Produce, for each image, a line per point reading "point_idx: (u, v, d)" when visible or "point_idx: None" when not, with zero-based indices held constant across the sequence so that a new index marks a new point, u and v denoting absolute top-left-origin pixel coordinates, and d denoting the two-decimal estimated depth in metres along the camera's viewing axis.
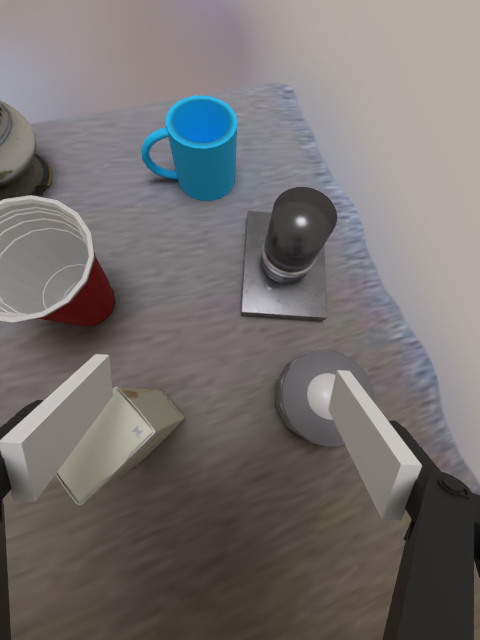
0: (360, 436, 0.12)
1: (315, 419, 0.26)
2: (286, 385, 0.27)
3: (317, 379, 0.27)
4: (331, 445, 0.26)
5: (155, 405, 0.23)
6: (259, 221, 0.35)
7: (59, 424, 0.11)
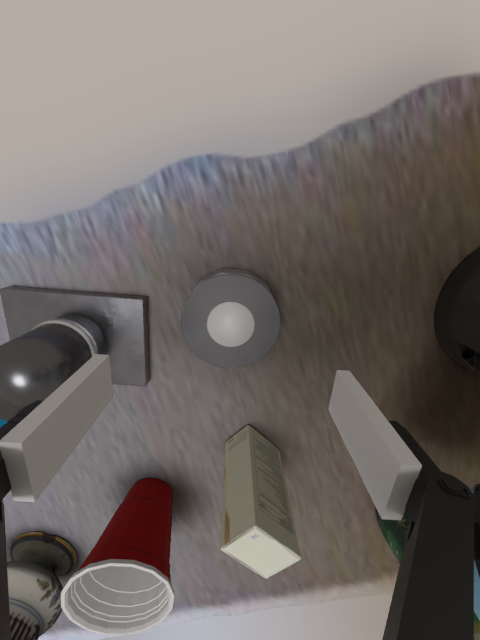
0: (360, 436, 0.12)
1: (253, 339, 0.26)
2: (220, 364, 0.27)
3: (214, 335, 0.26)
4: (278, 327, 0.25)
5: (236, 486, 0.27)
6: None
7: (59, 424, 0.11)
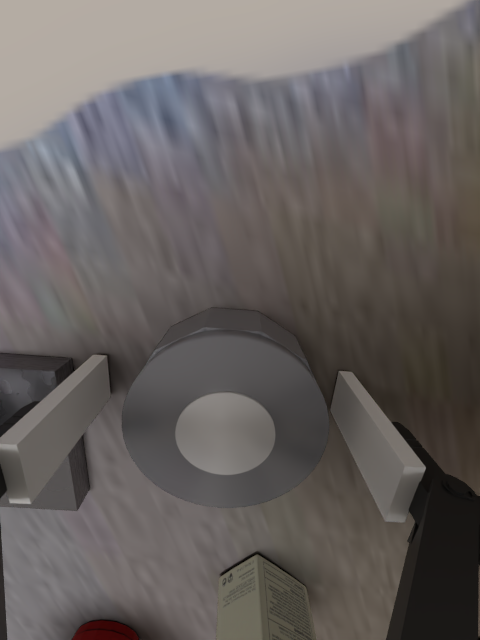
0: (363, 437, 0.12)
1: (272, 460, 0.13)
2: (205, 501, 0.14)
3: (190, 455, 0.12)
4: (325, 438, 0.12)
5: None
6: None
7: (56, 425, 0.11)
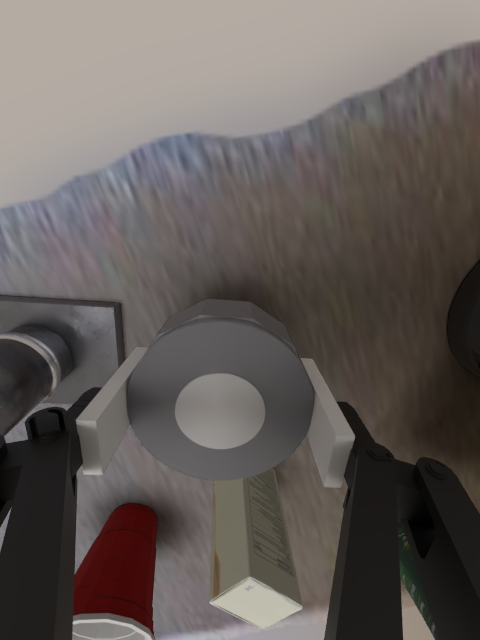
0: (313, 415, 0.13)
1: (262, 436, 0.14)
2: (202, 474, 0.15)
3: (189, 431, 0.14)
4: (310, 415, 0.14)
5: (227, 520, 0.24)
6: None
7: (118, 407, 0.12)
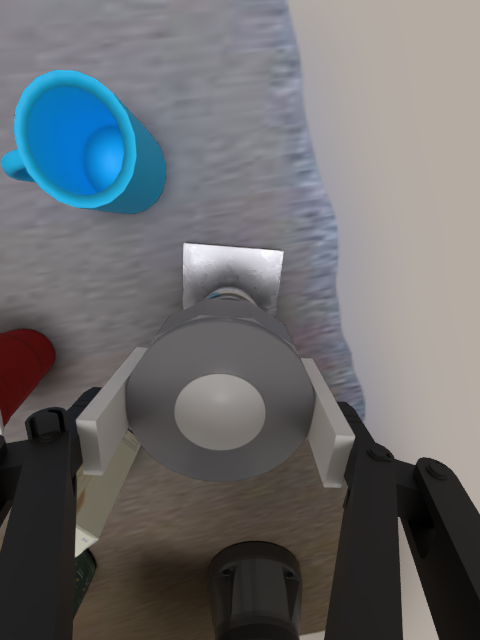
0: (313, 415, 0.13)
1: (263, 437, 0.14)
2: (201, 476, 0.15)
3: (188, 432, 0.14)
4: (311, 415, 0.13)
5: (105, 481, 0.29)
6: (199, 259, 0.28)
7: (118, 407, 0.12)
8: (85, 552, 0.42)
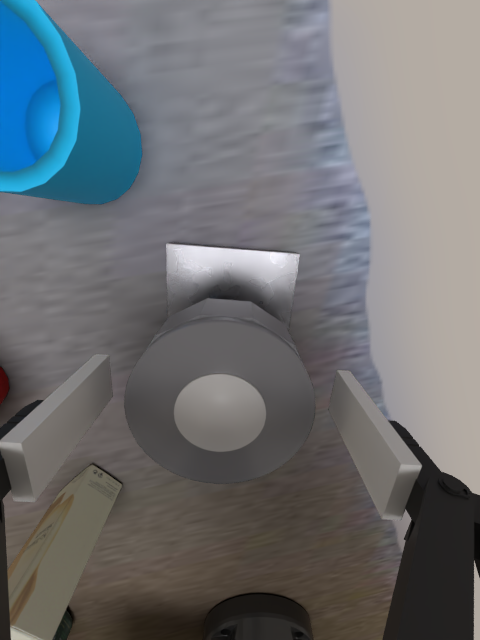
0: (360, 436, 0.12)
1: (263, 438, 0.14)
2: (201, 477, 0.15)
3: (188, 433, 0.13)
4: (312, 416, 0.13)
5: (67, 551, 0.23)
6: (187, 265, 0.21)
7: (59, 424, 0.11)
8: None
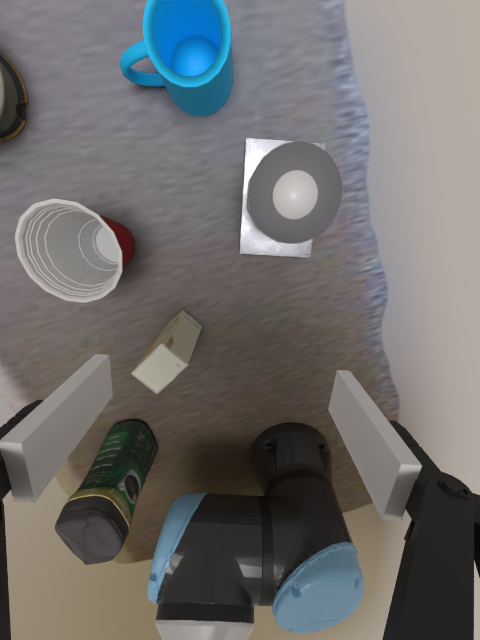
0: (360, 436, 0.12)
1: (315, 212, 0.27)
2: (282, 239, 0.28)
3: (278, 207, 0.27)
4: (340, 197, 0.27)
5: (183, 337, 0.37)
6: (258, 152, 0.34)
7: (59, 424, 0.11)
8: (150, 432, 0.51)
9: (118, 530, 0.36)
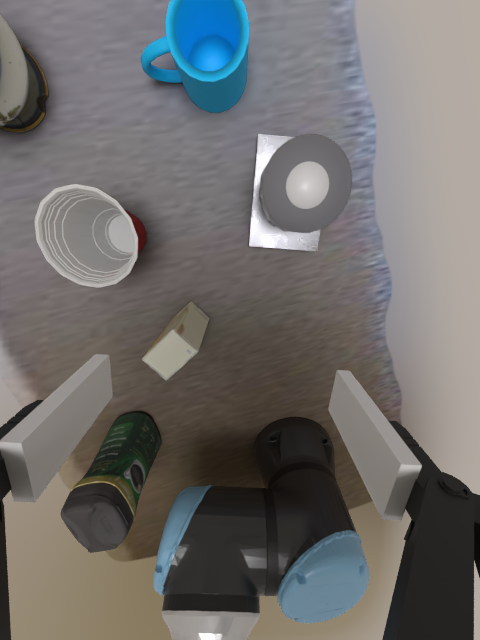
0: (360, 436, 0.12)
1: (326, 202, 0.29)
2: (293, 228, 0.29)
3: (291, 196, 0.28)
4: (350, 188, 0.28)
5: (193, 326, 0.37)
6: (269, 148, 0.36)
7: (59, 424, 0.11)
8: (154, 424, 0.51)
9: (123, 518, 0.36)
